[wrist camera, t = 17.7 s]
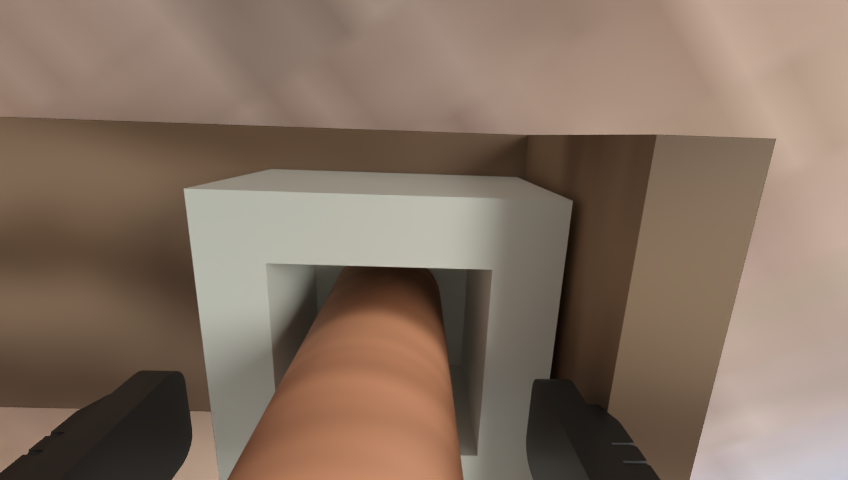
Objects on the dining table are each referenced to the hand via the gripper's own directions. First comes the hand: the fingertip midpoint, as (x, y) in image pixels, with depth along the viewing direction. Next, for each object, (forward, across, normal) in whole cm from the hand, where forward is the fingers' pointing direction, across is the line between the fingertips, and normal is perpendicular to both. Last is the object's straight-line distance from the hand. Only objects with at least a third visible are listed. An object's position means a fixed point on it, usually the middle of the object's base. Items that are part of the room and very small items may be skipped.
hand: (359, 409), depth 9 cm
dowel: (+6, 0, 0) cm, 6 cm away
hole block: (+7, 0, 0) cm, 7 cm away
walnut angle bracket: (+8, +5, 0) cm, 10 cm away
